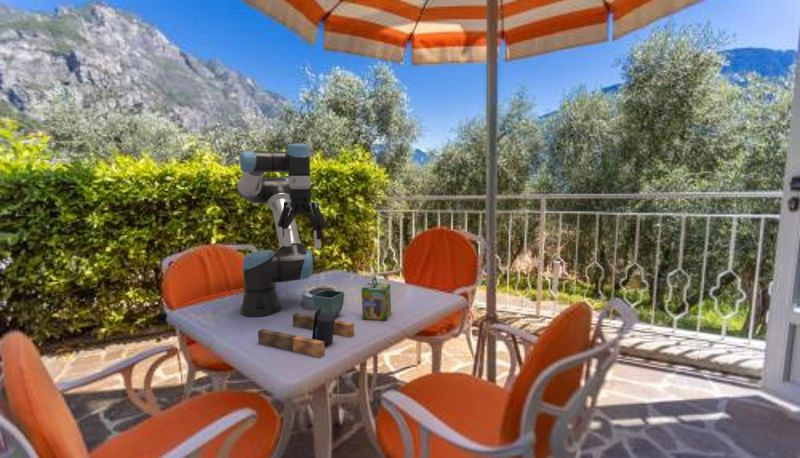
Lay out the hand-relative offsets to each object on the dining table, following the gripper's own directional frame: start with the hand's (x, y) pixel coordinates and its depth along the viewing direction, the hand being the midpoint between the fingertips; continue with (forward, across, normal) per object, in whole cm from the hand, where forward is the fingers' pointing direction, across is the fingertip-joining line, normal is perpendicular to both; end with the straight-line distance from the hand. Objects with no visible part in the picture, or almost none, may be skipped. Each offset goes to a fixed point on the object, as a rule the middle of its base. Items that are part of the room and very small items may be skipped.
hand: (302, 247), depth 141 cm
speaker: (+27, +19, -15) cm, 36 cm away
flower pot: (+27, +7, +5) cm, 28 cm away
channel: (+27, +13, -15) cm, 33 cm away
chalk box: (+27, +23, +13) cm, 38 cm away
